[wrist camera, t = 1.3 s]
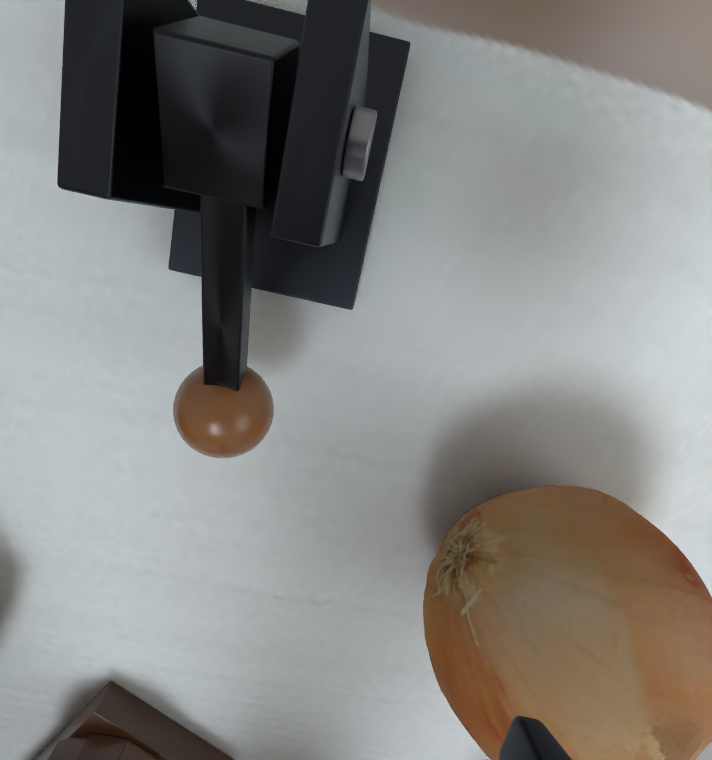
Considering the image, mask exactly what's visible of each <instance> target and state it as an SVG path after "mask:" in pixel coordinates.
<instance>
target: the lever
mask: <svg viewBox="0 0 712 760" xmlns="http://www.w3.org/2000/svg"><path fill="white" fill-rule="evenodd" d="M152 43H153V57H154V72H155V86H156V100H157V115H158V129H159V144H160V158H161V172H162V184H163V186H164V187H167V188H171V189H175V190H180V191H184V192H189V193H193V194H197V195H200V224H201V277H202V331H203V366H201V367H199V368H197V369H196V370H194V371H193V372H192V373H190V374H189V375H188V376H187V377H186V378H185V379H184V381H183V382H182V384H181V385H180V387H179V389H178V391H177V393H176V396H175V400H174V405H173V415H174V421H175V424H176V427H177V430H178V432H179V434H180V435H181V437H182V438H183V440H184V441H185V442H186V443H187V444H188V445H189V446H190V447H191V448H193V449H194V450H196V451H197V452H199V453H201V454H204V455H206V456H210V457H215V458H231V457H235V456H239V455H242V454H244V453H246V452H248V451H250V450H251V449H253V448H254V447H255V446H257V445H258V444H259V443H260V442H261V440H262V439H263V438H264V437H265V435H266V434H267V432H268V430H269V428H270V425H271V423H272V418H273V408H274V406H273V399H272V395H271V392H270V390H269V388H268V386H267V384H266V383H265V381H264V380H263V379H262V377H261V376H260V375H259V374H258V373H256V372H255V371H254V370H252V369H251V368H249V367H247V353H248V336H249V320H250V303H251V286H252V269H253V253H254V236H255V219H256V208H258V209H265V207H266V205H267V204H268V202H269V200H270V199H271V197H272V196H273V194H274V192H275V191H276V189H277V187H278V181H279V175H280V169H281V163H282V157H283V150H284V144H285V138H286V132H287V126H288V120H289V114H290V107H291V101H292V95H293V89H294V83H295V77H296V71H297V64H298V56H299V42H298V41H297V40H294V39H290V38H286V37H282V36H278V35H274V34H270V33H266V32H262V31H258V30H254V29H250V28H246V27H242V26H238V25H234V24H230V23H226V22H222V21H218V20H214V19H210V18H206V17H202V16H198V17H194V18H190V19H186V20H182V21H178V22H175V23H171V24H167V25H163V26H159V27H155V28H153V29H152Z"/></svg>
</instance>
